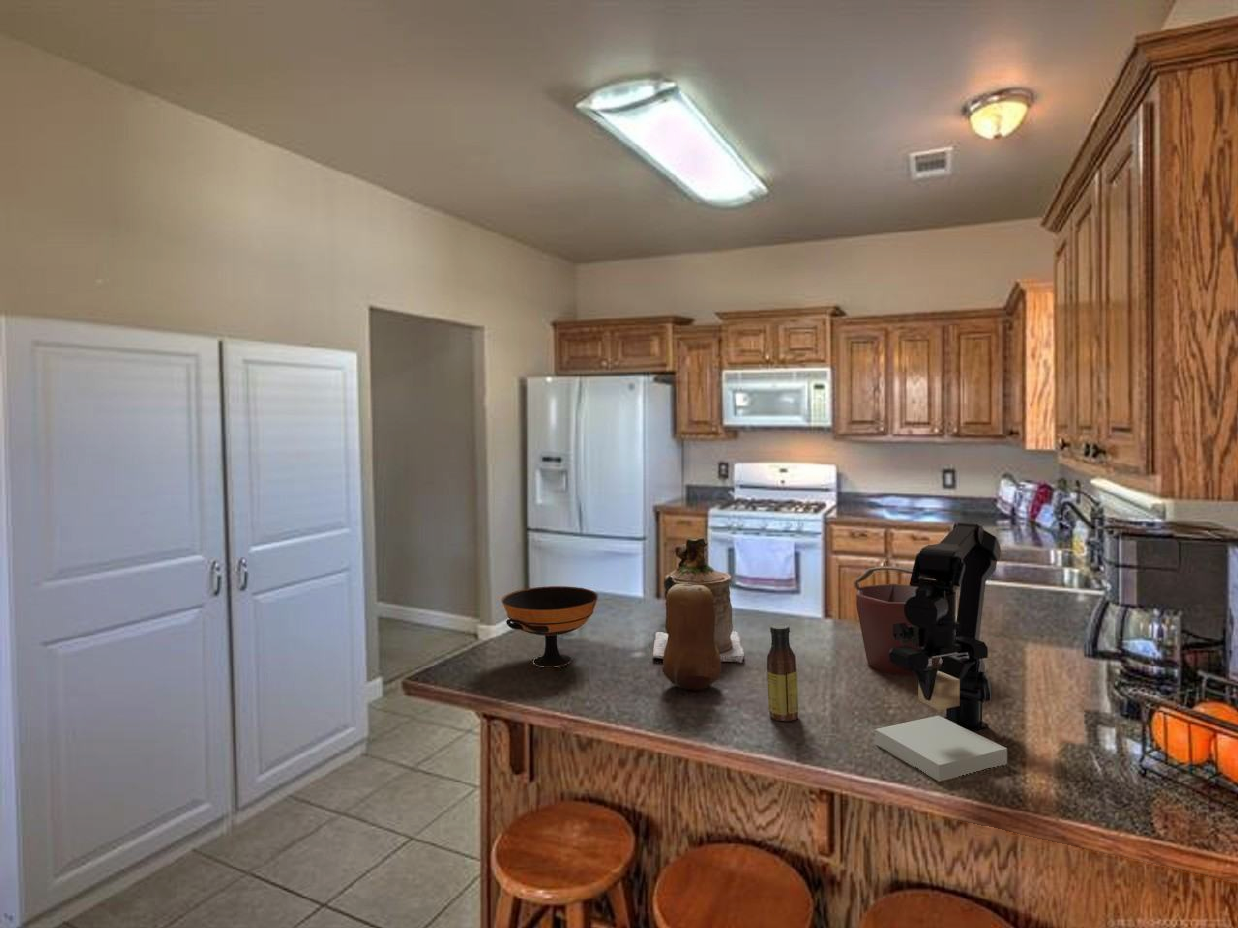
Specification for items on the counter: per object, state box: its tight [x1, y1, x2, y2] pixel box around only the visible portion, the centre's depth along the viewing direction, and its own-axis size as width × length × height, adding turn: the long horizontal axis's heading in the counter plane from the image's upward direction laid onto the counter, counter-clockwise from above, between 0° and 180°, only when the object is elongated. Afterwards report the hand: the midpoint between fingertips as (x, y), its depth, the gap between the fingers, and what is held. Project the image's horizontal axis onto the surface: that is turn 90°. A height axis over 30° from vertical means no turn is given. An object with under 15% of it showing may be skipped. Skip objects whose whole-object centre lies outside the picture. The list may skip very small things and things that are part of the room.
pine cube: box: [917, 670, 960, 711], centre depth 134 cm, size 5×5×5 cm
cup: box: [501, 585, 599, 667], centre depth 190 cm, size 36×26×18 cm
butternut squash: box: [662, 583, 722, 692], centre depth 170 cm, size 14×13×25 cm
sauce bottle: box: [766, 623, 799, 723], centre depth 152 cm, size 7×6×20 cm
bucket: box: [853, 565, 941, 677], centre depth 184 cm, size 24×22×25 cm
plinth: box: [874, 715, 1008, 783], centre depth 134 cm, size 16×16×3 cm
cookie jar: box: [652, 537, 745, 664], centre depth 199 cm, size 25×25×32 cm
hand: (938, 697), depth 134 cm, fingers closed on pine cube, 5 cm apart
